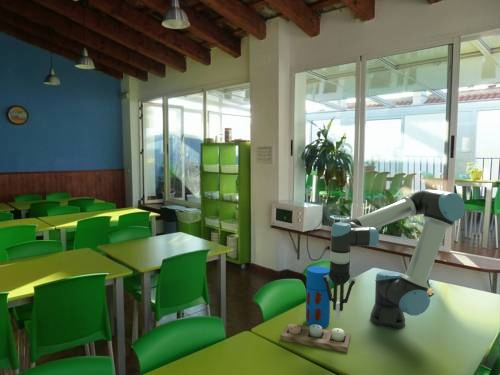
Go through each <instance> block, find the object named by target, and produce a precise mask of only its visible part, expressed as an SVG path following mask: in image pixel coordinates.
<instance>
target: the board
mask: <svg viewBox="0 0 500 375" xmlns="http://www.w3.org/2000/svg"><path fill="white" fill-rule="evenodd" d="M290 325H298V326H300V327H301V334H300V335H296V334H290V333H289V326H290ZM331 336H332V329H331V330H330V329H326V328H322V336H320V337H321V338H320V337H313V336H311V335H310V326H309V325H308V326H305V325H303V324H302V325H301V324H295V323H287V324H286V326H285V328H284V329H283V331H282V332H281V334H280V340H281V341H285V342H291V343H295V344H300V345H306V346H311V347H317V348H321V349H327V350H333V351H338V352H343V353H348V350H349V346H350V342H351V333H348V332H344V340H342V341H344V342H341V341H336V340H334V341H333V340H332V338H331Z"/></svg>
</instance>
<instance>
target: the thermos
mask: <svg viewBox="0 0 500 375" xmlns="http://www.w3.org/2000/svg"><path fill="white" fill-rule="evenodd" d="M329 272H330V267H326V266H320V265H319V266H317V265H315V266H313V265H312V266H310V267H307V268H306V283H305V284H306V285H305V288H306V289H305V290H306V291H305V323H306V325H308V327H310V326H311V325H314V324H316V325H320V326H321V327H322V329H325V328H326V327H328V326H330V315H331V314H330V313H331V312H330V311H331V301H330V300H329V298H328V293H327V289H326V284H325V282H324V280H323V277H324V276H326V275H328V274H329ZM331 282H332V280H331V279H330V277H329V283H330V284H331Z"/></svg>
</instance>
